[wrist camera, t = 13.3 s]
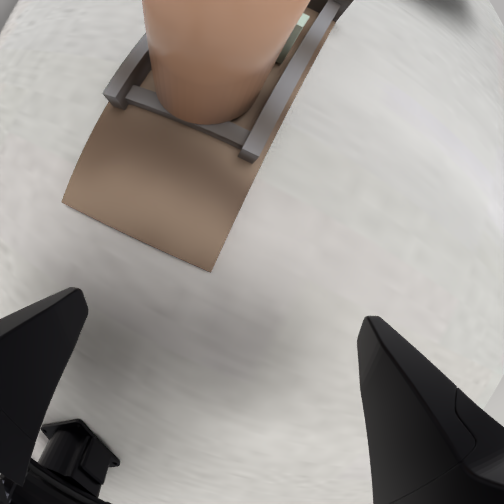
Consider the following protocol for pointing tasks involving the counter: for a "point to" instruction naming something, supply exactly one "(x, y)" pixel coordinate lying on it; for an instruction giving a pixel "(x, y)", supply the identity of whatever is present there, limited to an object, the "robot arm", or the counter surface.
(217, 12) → the jar
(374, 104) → the counter surface
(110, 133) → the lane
